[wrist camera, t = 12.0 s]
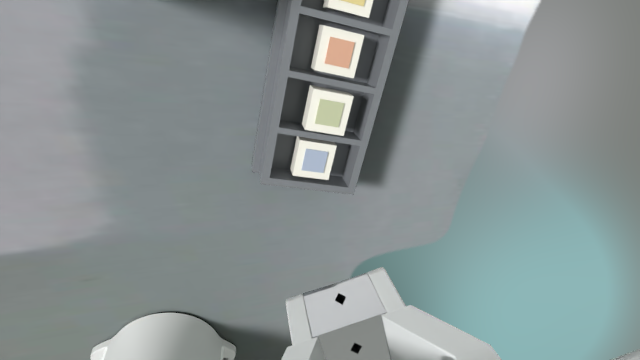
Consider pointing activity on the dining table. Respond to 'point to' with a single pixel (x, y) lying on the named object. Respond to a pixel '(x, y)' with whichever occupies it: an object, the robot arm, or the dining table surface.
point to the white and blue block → (312, 158)
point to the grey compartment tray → (297, 75)
